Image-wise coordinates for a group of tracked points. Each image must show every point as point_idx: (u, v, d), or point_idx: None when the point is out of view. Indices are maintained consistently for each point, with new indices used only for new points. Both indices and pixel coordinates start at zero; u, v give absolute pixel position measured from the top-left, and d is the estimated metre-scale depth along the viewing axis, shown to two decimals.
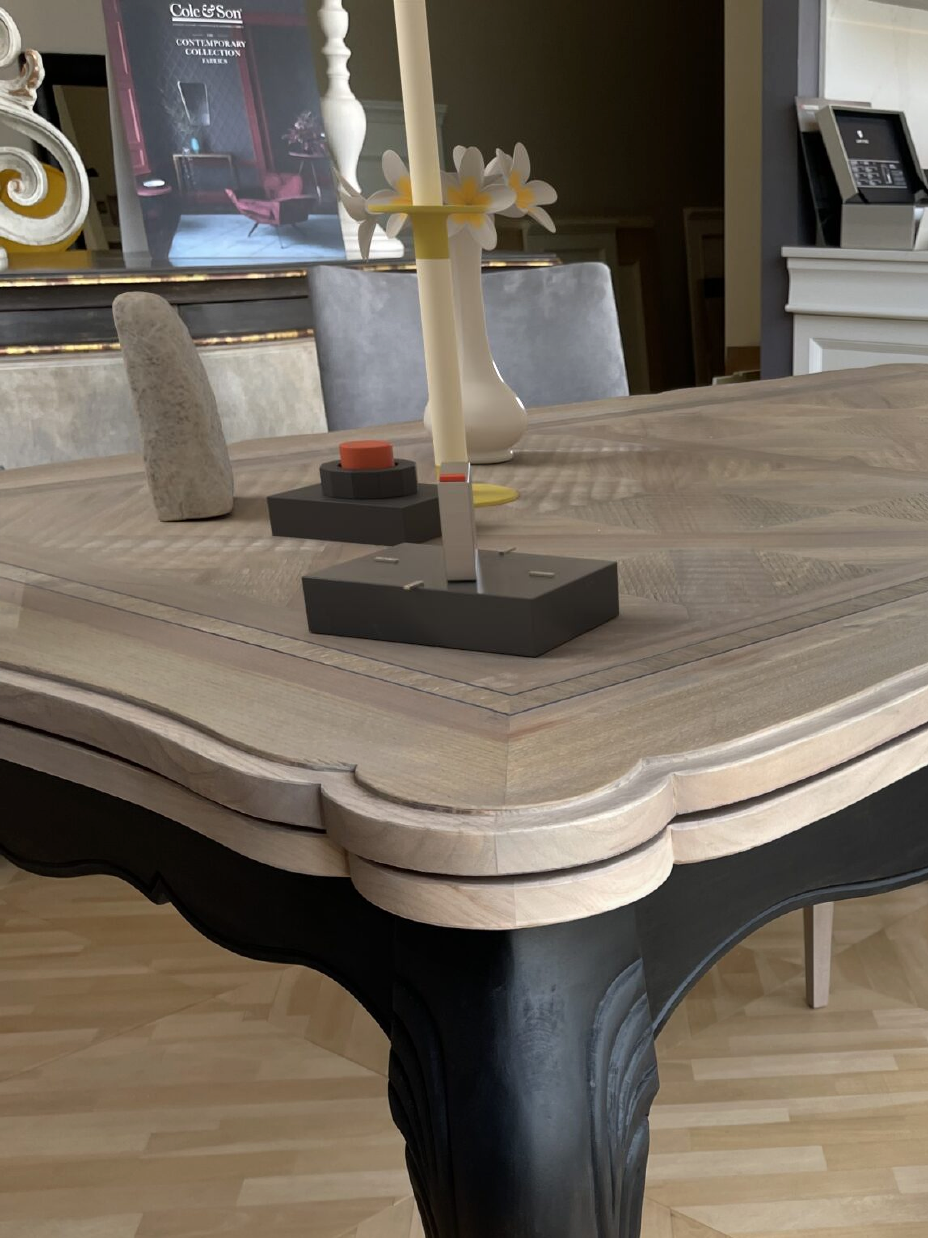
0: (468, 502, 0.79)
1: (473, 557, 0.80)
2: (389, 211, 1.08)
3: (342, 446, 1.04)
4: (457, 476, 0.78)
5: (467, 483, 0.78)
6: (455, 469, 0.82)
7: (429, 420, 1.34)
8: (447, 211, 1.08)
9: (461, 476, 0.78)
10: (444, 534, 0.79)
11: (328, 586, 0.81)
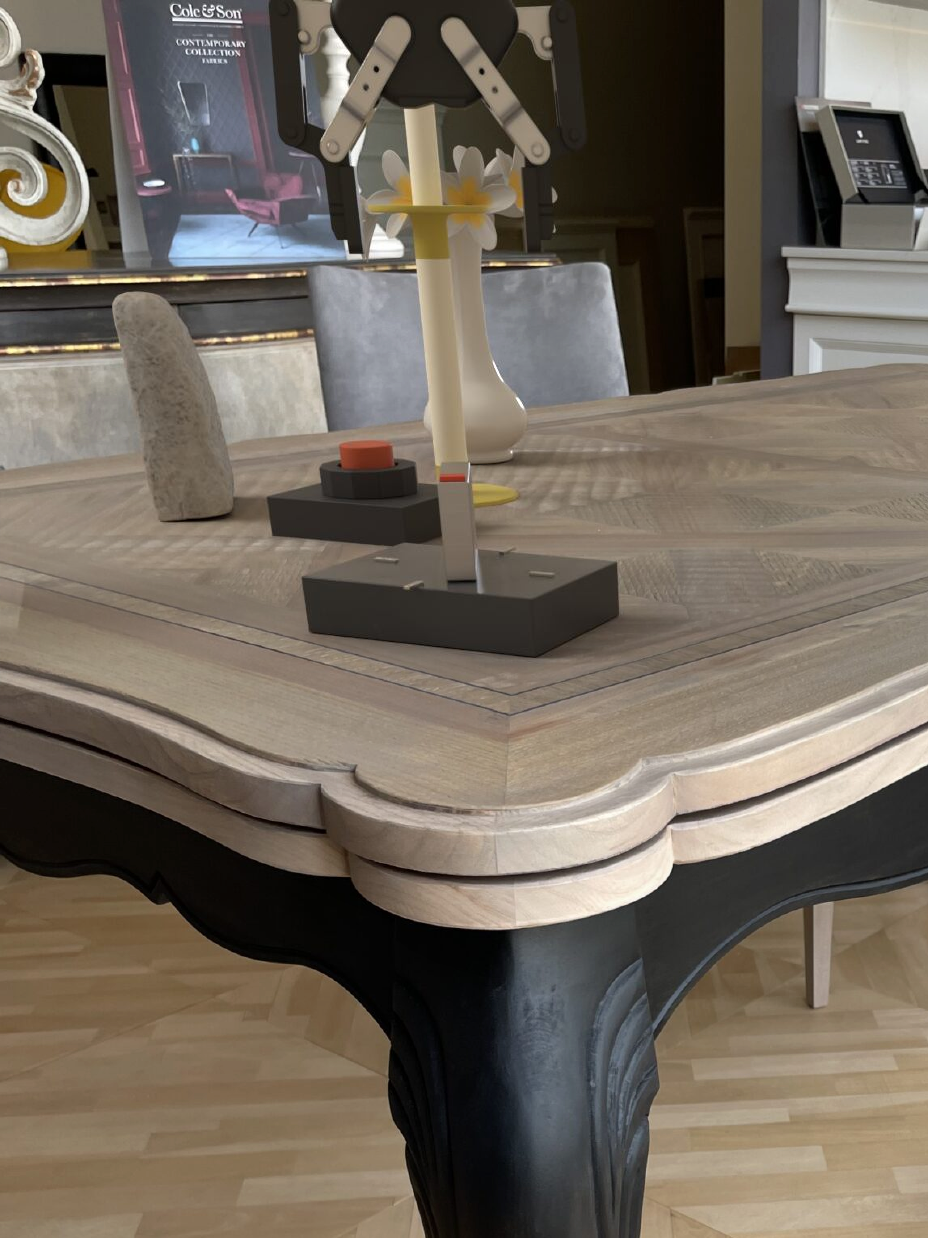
0: (468, 502, 0.79)
1: (473, 557, 0.80)
2: (389, 211, 1.08)
3: (342, 446, 1.04)
4: (457, 476, 0.78)
5: (467, 483, 0.78)
6: (455, 469, 0.82)
7: (429, 420, 1.34)
8: (447, 211, 1.08)
9: (461, 476, 0.78)
10: (444, 534, 0.79)
11: (328, 586, 0.81)
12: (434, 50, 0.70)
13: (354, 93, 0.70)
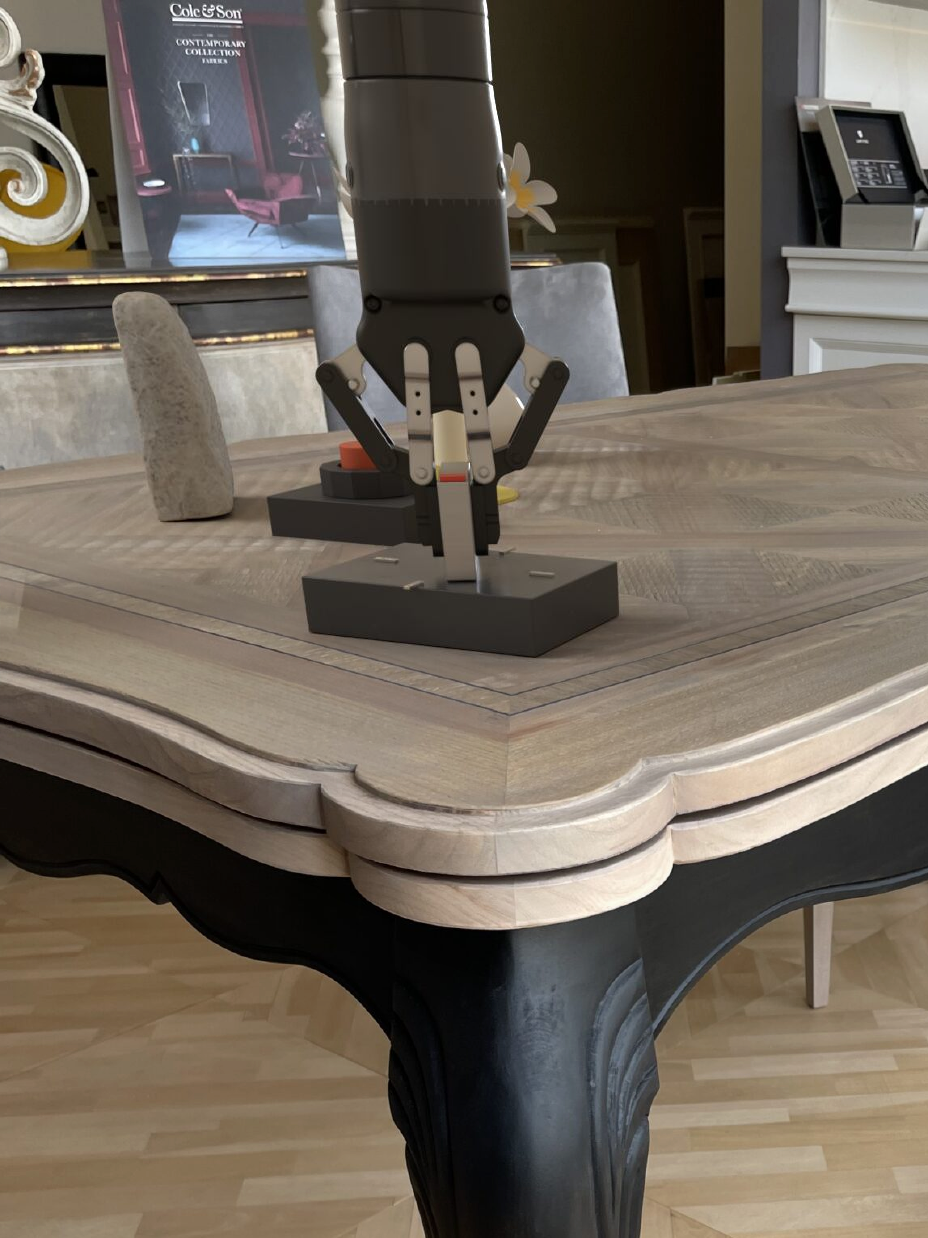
0: (468, 502, 0.79)
1: (473, 557, 0.80)
2: None
3: (342, 446, 1.04)
4: (457, 476, 0.78)
5: (467, 483, 0.78)
6: (455, 469, 0.82)
7: None
8: None
9: (461, 476, 0.78)
10: (444, 534, 0.79)
11: (328, 586, 0.81)
12: (449, 367, 0.78)
13: (413, 423, 0.78)
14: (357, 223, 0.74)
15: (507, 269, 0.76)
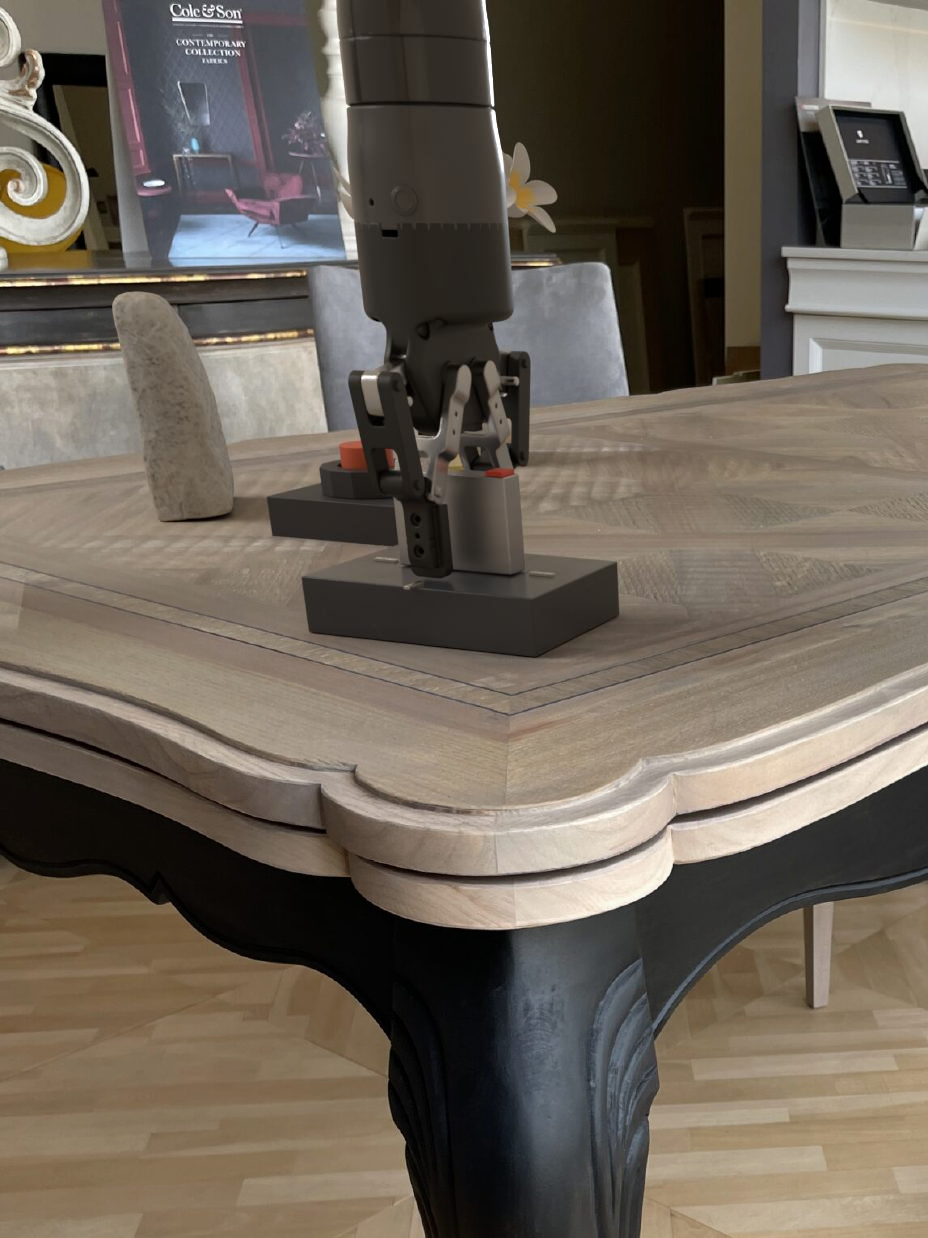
0: (519, 493, 0.81)
1: (523, 547, 0.82)
2: None
3: (342, 446, 1.04)
4: (508, 470, 0.80)
5: (518, 475, 0.81)
6: None
7: None
8: None
9: (511, 469, 0.80)
10: (508, 528, 0.81)
11: (328, 586, 0.81)
12: None
13: (449, 441, 0.77)
14: (419, 248, 0.73)
15: None
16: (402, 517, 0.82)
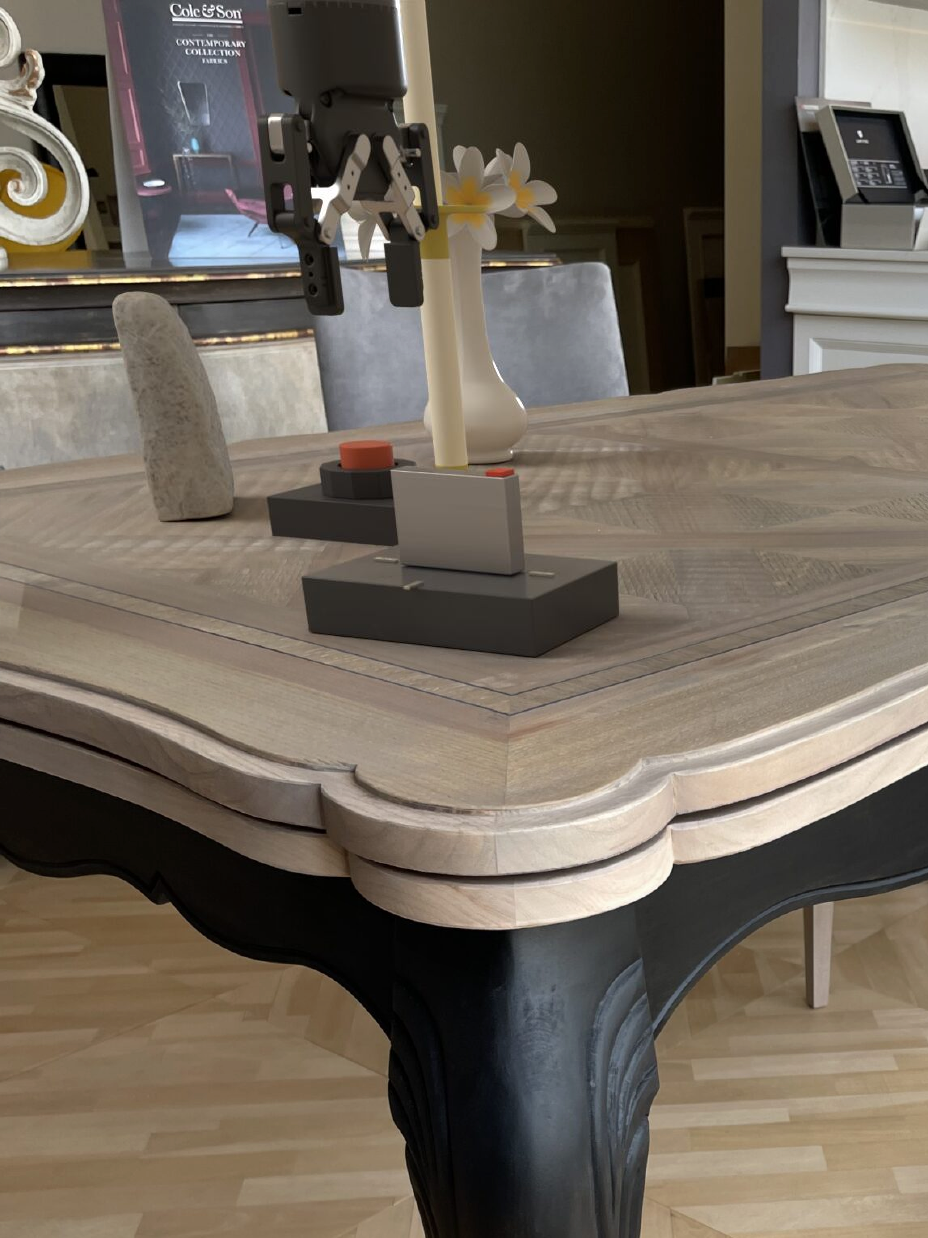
0: (519, 493, 0.81)
1: (523, 547, 0.82)
2: None
3: (342, 446, 1.04)
4: (508, 470, 0.80)
5: (518, 475, 0.81)
6: (443, 470, 0.81)
7: (429, 420, 1.34)
8: (447, 211, 1.08)
9: (511, 469, 0.80)
10: (508, 528, 0.81)
11: (328, 586, 0.81)
12: (369, 158, 0.92)
13: (343, 191, 0.89)
14: (320, 24, 0.85)
15: None
16: (402, 517, 0.82)
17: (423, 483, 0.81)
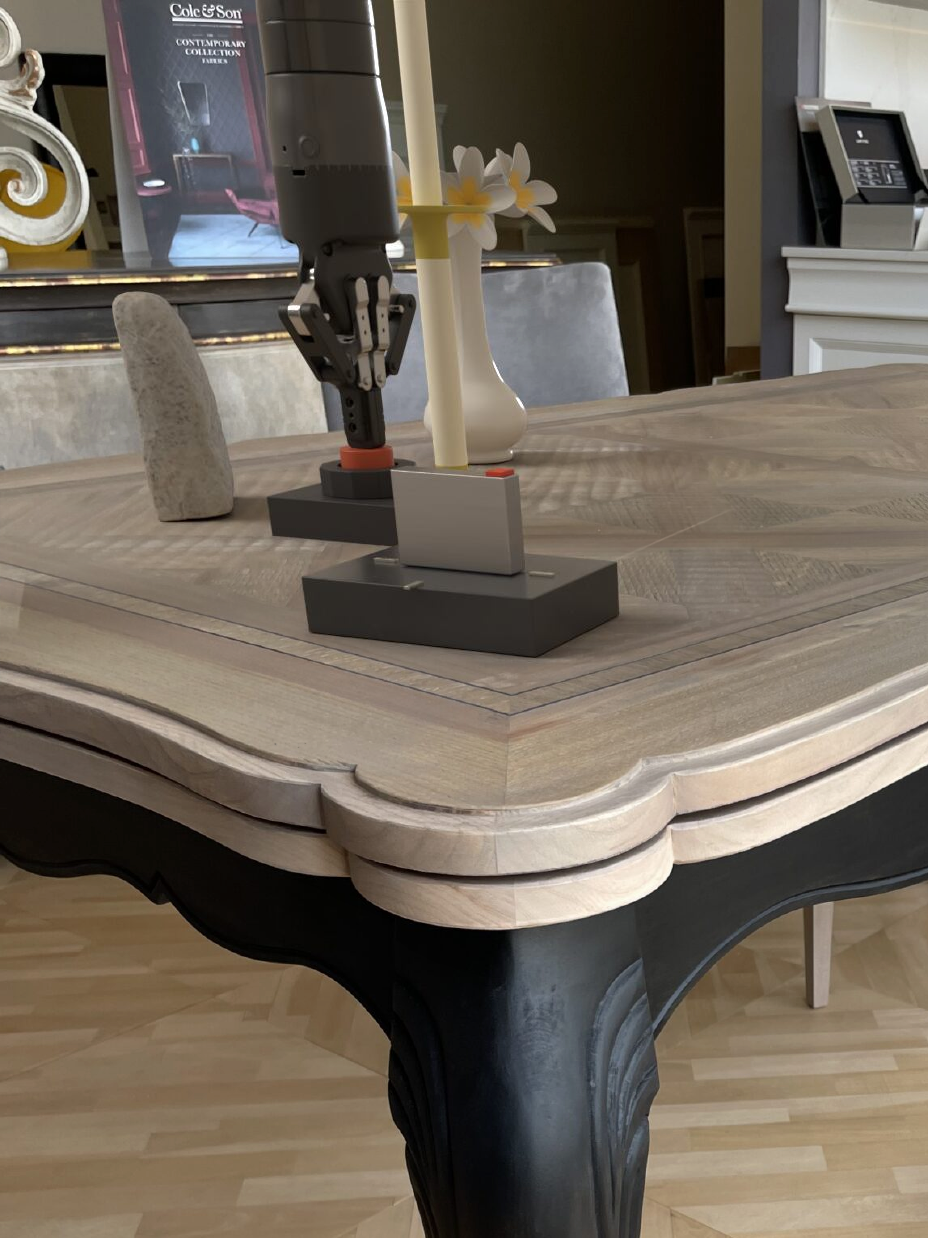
0: (519, 493, 0.81)
1: (523, 547, 0.82)
2: None
3: (342, 450, 1.05)
4: (508, 470, 0.80)
5: (518, 475, 0.81)
6: (443, 470, 0.81)
7: (429, 420, 1.34)
8: (447, 211, 1.08)
9: (511, 469, 0.80)
10: (508, 528, 0.81)
11: (328, 586, 0.81)
12: None
13: (364, 342, 1.01)
14: (322, 184, 0.95)
15: None
16: (402, 517, 0.82)
17: (423, 483, 0.81)
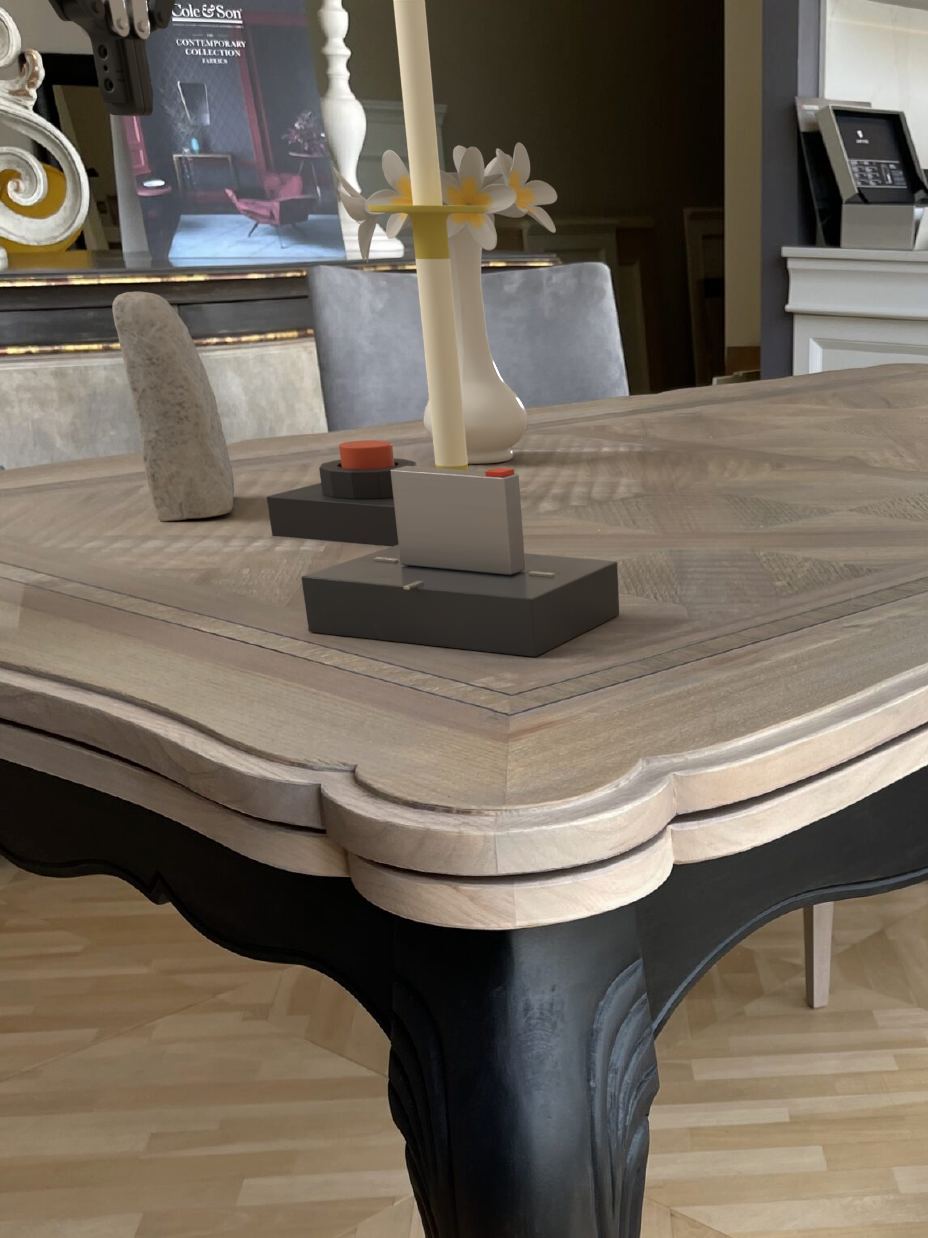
0: (519, 493, 0.81)
1: (523, 547, 0.82)
2: (389, 211, 1.08)
3: (342, 446, 1.04)
4: (508, 470, 0.80)
5: (518, 475, 0.81)
6: (443, 470, 0.81)
7: (429, 420, 1.34)
8: (447, 211, 1.08)
9: (511, 469, 0.80)
10: (508, 528, 0.81)
11: (328, 586, 0.81)
12: None
13: None
14: None
15: None
16: (402, 517, 0.82)
17: (423, 483, 0.81)
